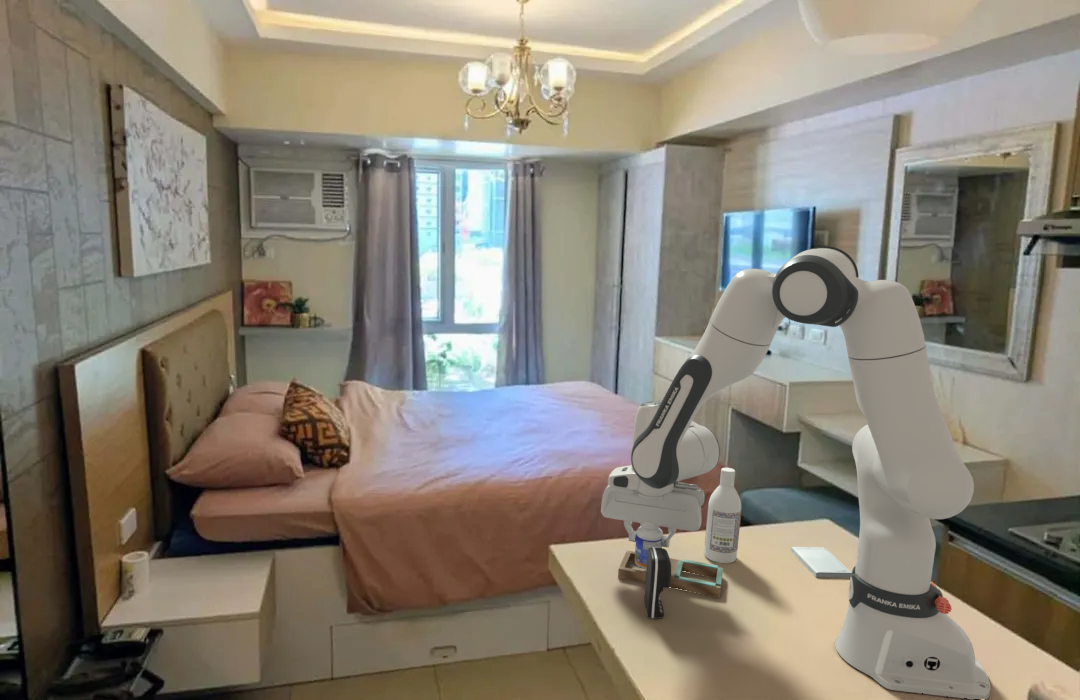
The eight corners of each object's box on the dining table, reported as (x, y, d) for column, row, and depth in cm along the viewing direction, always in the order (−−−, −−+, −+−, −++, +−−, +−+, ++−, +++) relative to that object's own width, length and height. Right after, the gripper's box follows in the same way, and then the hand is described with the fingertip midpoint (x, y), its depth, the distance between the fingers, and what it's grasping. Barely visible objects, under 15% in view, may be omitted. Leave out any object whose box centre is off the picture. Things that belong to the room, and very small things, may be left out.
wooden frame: (722, 577, 140) (723, 566, 140) (719, 597, 132) (720, 586, 131) (626, 559, 146) (627, 549, 146) (617, 577, 138) (618, 567, 137)
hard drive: (853, 573, 143) (825, 546, 155) (816, 572, 142) (790, 545, 154) (852, 580, 143) (824, 553, 155) (815, 579, 142) (789, 552, 155)
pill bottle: (633, 557, 143) (635, 513, 142) (659, 558, 143) (662, 514, 142) (635, 569, 138) (638, 523, 136) (662, 570, 138) (665, 525, 136)
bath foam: (742, 563, 147) (751, 474, 144) (712, 565, 145) (721, 475, 142) (726, 549, 153) (735, 464, 150) (698, 550, 152) (706, 464, 149)
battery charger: (668, 621, 122) (673, 561, 121) (647, 619, 123) (652, 560, 121) (663, 601, 129) (668, 544, 128) (643, 599, 130) (647, 543, 128)
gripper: (706, 480, 137) (702, 545, 139) (607, 467, 144) (604, 529, 146) (703, 491, 131) (698, 558, 134) (600, 476, 138) (597, 541, 140)
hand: (648, 543), depth 140 cm, fingers closed on pill bottle, 5 cm apart
